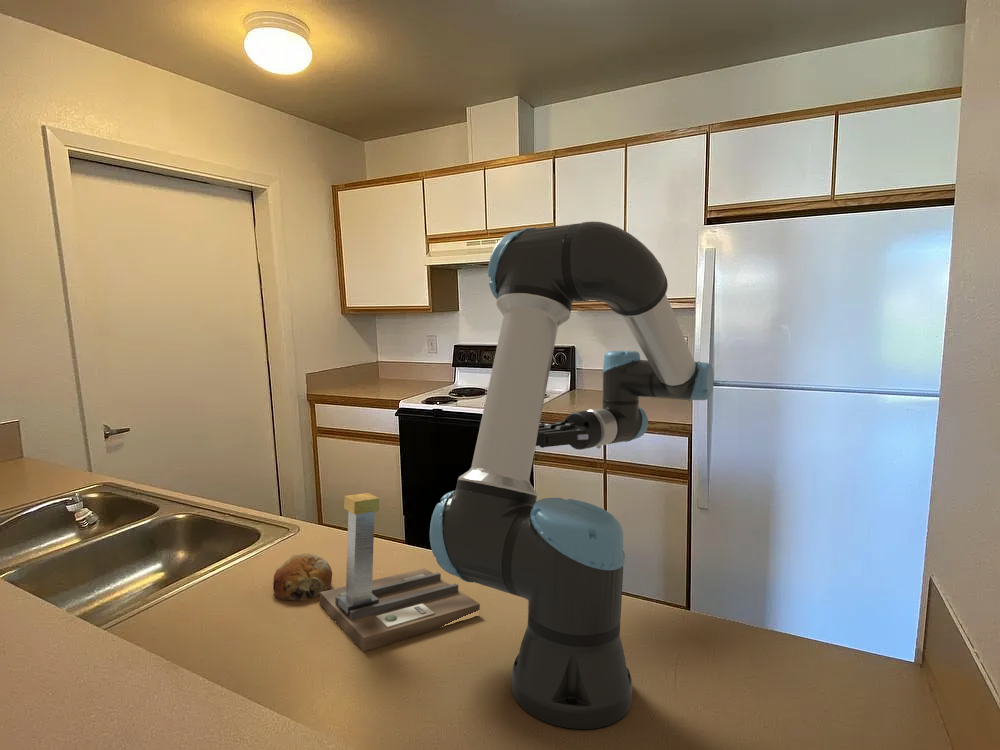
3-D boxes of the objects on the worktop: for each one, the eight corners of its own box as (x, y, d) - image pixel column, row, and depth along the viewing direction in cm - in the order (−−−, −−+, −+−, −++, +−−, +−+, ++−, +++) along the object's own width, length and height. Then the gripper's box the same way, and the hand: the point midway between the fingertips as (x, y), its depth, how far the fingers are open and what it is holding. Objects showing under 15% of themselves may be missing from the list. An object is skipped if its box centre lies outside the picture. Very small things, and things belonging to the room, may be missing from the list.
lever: (378, 606, 86) (382, 497, 85) (347, 614, 83) (351, 501, 82) (368, 597, 89) (371, 492, 88) (338, 604, 86) (341, 496, 85)
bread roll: (335, 604, 99) (344, 558, 103) (315, 602, 90) (325, 552, 93) (283, 600, 100) (293, 554, 103) (257, 597, 91) (269, 548, 94)
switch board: (479, 616, 89) (480, 596, 89) (363, 651, 77) (364, 629, 77) (424, 578, 103) (425, 562, 103) (319, 604, 91) (320, 585, 91)
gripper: (614, 451, 105) (522, 470, 91) (566, 443, 115) (476, 458, 101) (614, 413, 105) (522, 425, 90) (565, 408, 115) (475, 418, 100)
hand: (498, 442), depth 95 cm, fingers closed
